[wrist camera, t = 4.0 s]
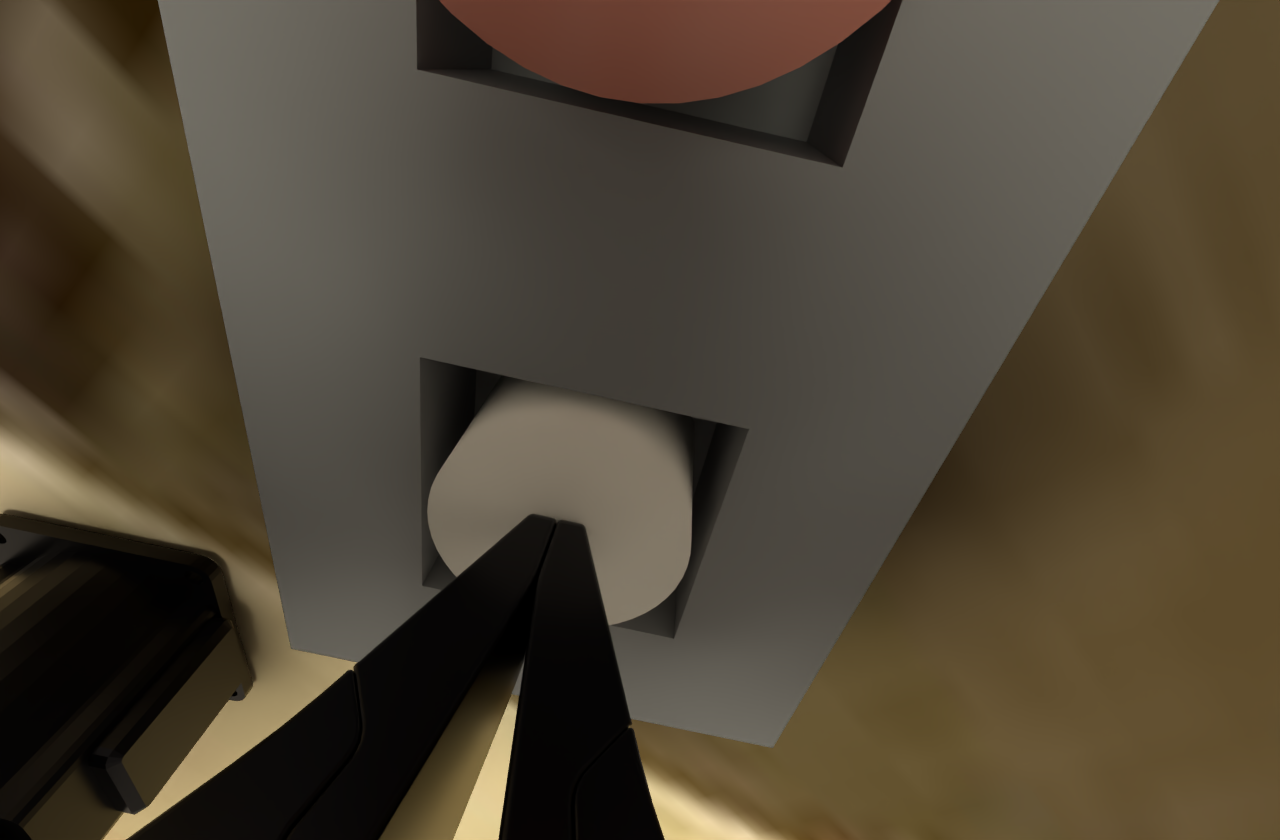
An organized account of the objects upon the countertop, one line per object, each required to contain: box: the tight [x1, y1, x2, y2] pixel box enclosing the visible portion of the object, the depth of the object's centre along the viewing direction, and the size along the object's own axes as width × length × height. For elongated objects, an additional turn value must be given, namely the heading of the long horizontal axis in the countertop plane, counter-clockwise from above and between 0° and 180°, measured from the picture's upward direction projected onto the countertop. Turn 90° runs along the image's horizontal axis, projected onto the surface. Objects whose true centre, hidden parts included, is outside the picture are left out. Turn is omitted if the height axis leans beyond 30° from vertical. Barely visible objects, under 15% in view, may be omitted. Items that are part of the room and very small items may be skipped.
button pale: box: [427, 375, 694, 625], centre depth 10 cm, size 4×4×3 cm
